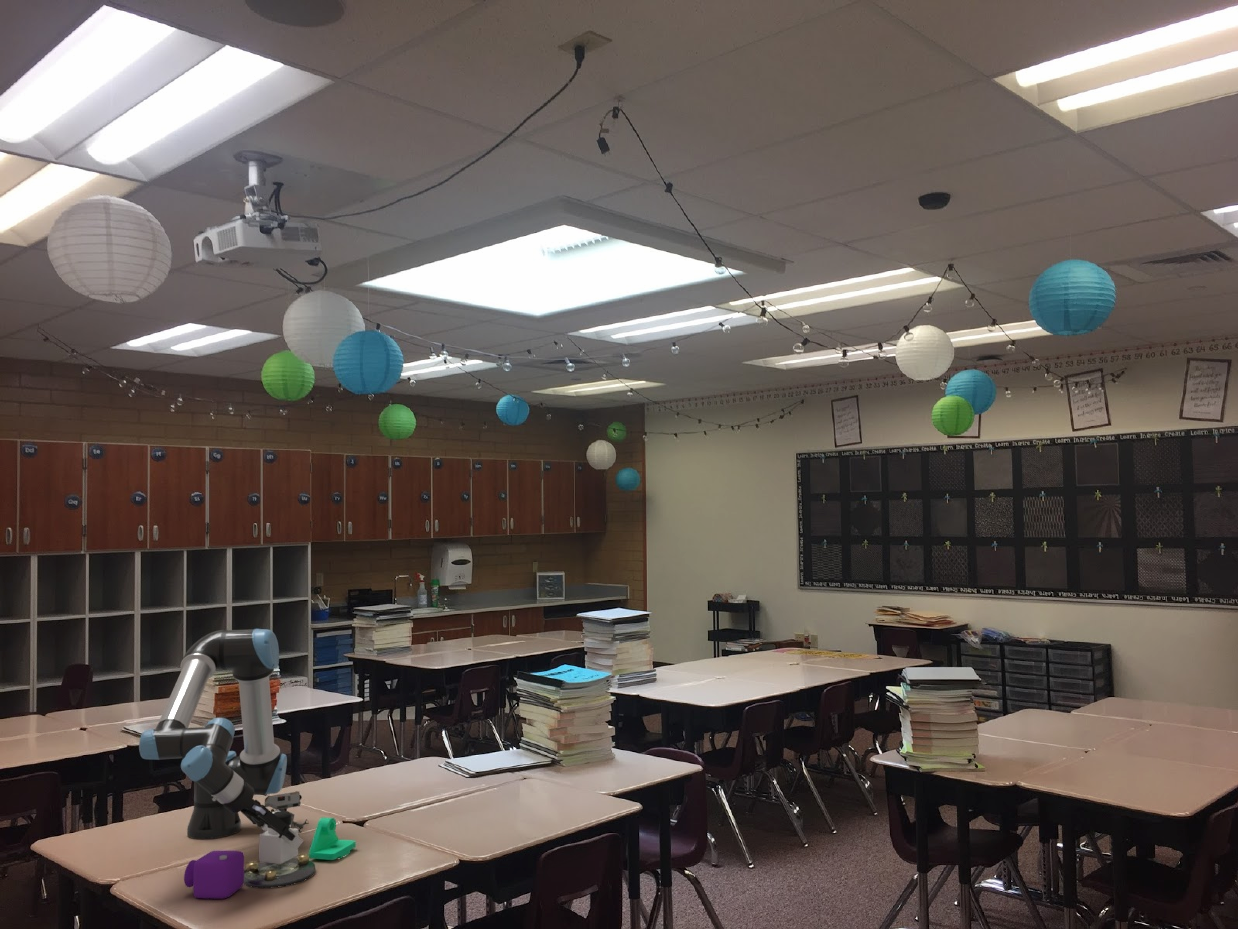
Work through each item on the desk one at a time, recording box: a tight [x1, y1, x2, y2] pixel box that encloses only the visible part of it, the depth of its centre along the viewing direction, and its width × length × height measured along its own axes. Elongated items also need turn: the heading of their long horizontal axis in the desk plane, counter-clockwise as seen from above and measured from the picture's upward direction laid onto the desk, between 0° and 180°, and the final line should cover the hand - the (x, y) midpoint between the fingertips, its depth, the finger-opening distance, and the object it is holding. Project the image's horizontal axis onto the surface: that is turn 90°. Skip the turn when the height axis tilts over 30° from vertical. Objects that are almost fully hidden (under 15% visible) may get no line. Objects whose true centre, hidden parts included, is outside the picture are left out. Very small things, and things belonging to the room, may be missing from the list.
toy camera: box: [183, 850, 245, 900], centre depth 240 cm, size 11×14×10 cm
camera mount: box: [308, 817, 357, 861], centre depth 267 cm, size 12×8×10 cm, turn 164°
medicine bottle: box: [258, 810, 299, 864], centre depth 252 cm, size 7×7×12 cm
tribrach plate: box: [243, 853, 316, 889], centre depth 251 cm, size 18×18×4 cm
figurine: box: [263, 790, 309, 834], centre depth 276 cm, size 9×12×15 cm
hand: (290, 841), depth 254 cm, fingers closed on medicine bottle, 9 cm apart
